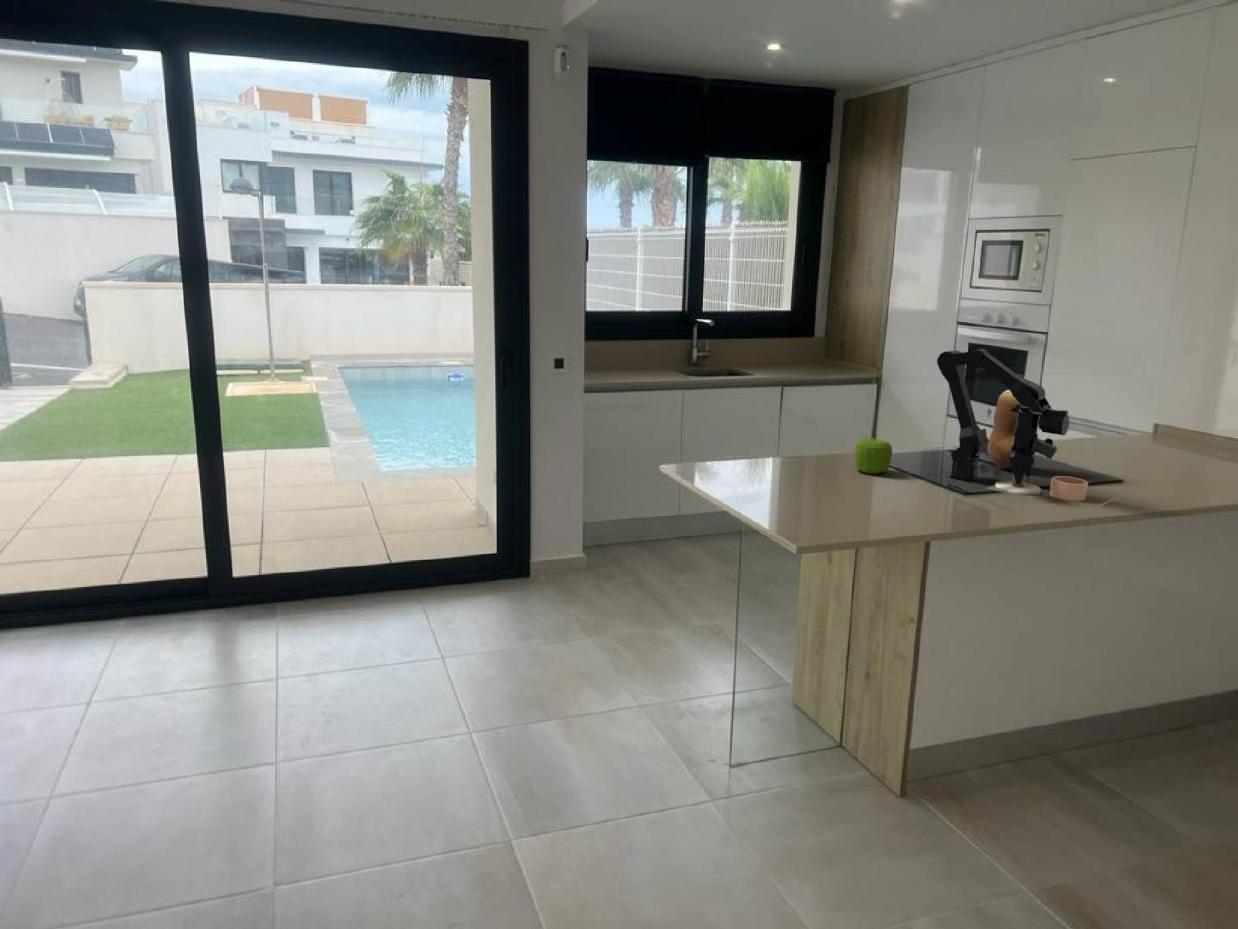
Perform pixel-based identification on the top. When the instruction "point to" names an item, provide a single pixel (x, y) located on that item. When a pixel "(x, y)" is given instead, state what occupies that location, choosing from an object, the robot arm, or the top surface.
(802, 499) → the top surface
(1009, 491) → the lid
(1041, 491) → the mat
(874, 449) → the apple
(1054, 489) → the bowl
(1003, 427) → the butternut squash
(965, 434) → the robot arm
